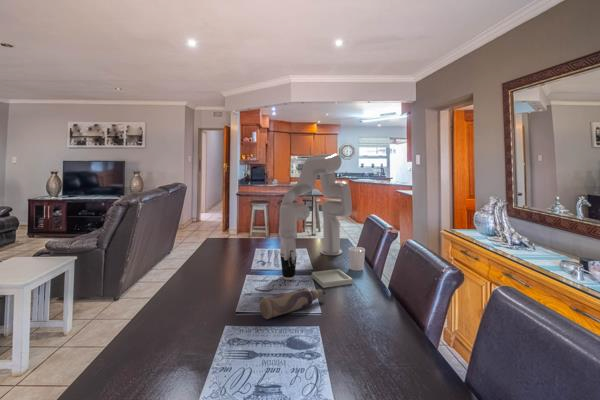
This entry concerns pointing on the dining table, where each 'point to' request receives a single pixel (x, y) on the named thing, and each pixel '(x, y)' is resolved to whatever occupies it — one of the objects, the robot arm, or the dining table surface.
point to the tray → (331, 278)
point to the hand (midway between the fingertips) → (288, 271)
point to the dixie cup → (286, 268)
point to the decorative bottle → (288, 302)
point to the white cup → (356, 258)
